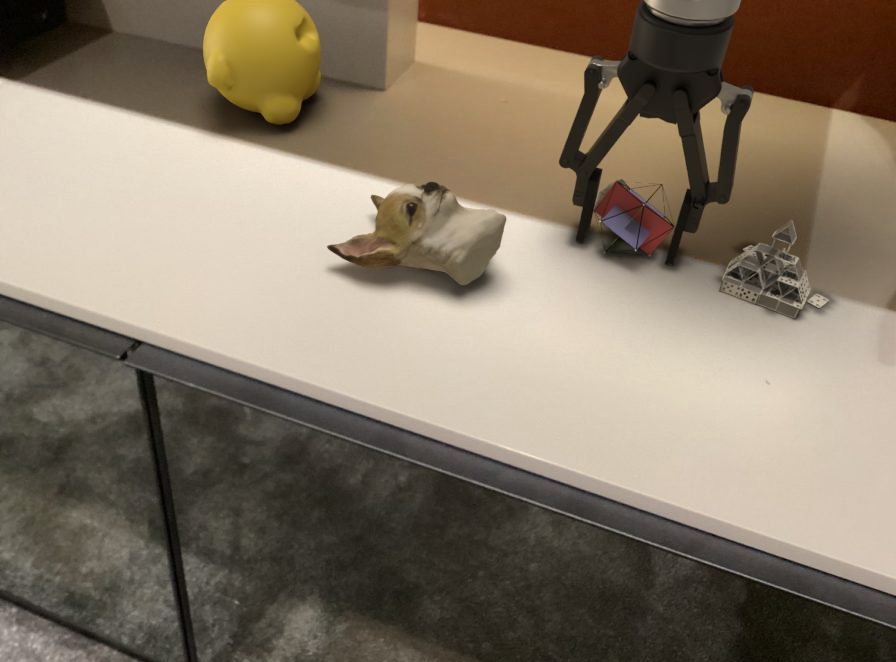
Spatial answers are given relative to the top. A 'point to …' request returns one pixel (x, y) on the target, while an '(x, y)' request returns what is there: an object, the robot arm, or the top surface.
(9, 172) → the top surface
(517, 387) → the top surface
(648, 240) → the geometric puzzle
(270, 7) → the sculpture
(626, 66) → the robot arm
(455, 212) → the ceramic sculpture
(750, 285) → the house of cards
